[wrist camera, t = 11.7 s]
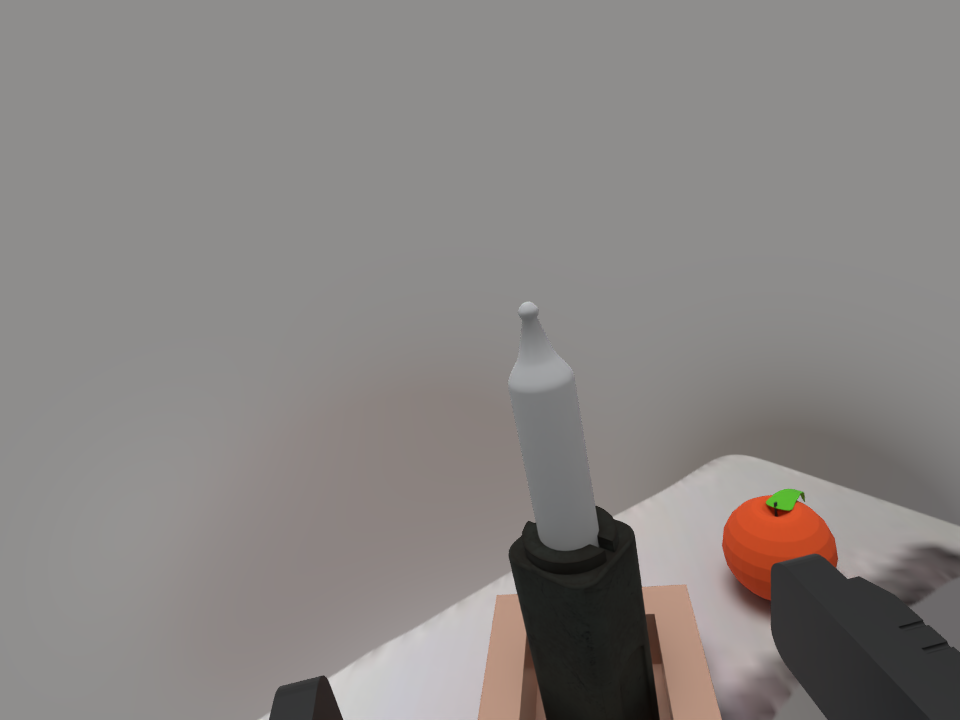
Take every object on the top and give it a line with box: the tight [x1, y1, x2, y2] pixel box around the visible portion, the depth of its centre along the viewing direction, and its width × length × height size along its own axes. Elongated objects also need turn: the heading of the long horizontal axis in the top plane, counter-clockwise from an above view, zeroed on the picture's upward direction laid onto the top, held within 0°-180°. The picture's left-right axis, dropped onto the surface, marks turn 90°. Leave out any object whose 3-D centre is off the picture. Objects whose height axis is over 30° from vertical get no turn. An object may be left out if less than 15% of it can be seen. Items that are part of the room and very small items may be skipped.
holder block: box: [478, 585, 722, 720], centre depth 32 cm, size 12×12×5 cm
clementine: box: [722, 489, 838, 601], centre depth 39 cm, size 8×7×7 cm
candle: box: [508, 302, 660, 720], centre depth 28 cm, size 5×5×25 cm
